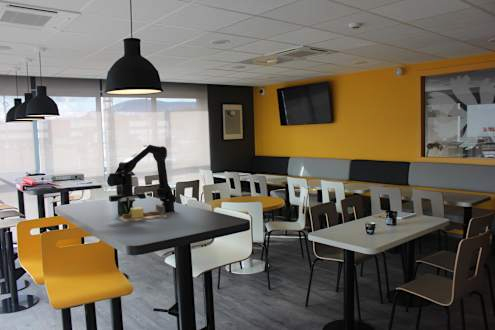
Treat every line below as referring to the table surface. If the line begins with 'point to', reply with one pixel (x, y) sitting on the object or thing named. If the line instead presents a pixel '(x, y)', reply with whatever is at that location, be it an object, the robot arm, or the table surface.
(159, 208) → the track
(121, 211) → the coffee jar
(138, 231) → the table surface
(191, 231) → the table surface
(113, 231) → the table surface
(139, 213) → the block
